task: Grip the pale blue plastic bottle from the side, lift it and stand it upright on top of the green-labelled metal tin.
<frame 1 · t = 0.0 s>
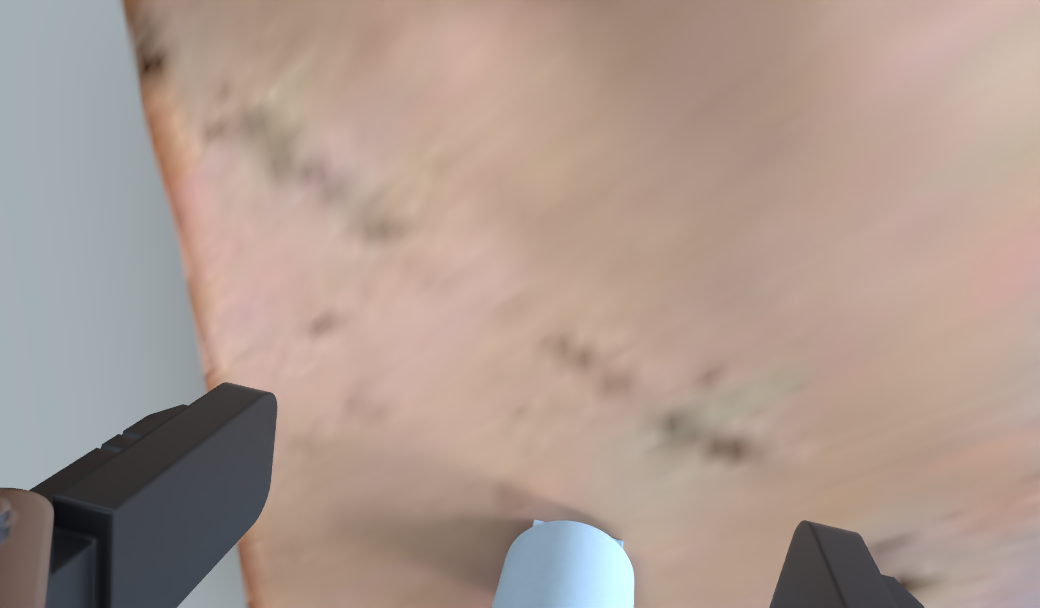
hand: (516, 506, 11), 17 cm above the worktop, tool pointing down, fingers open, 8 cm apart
bottle: (569, 565, 32), on the worktop
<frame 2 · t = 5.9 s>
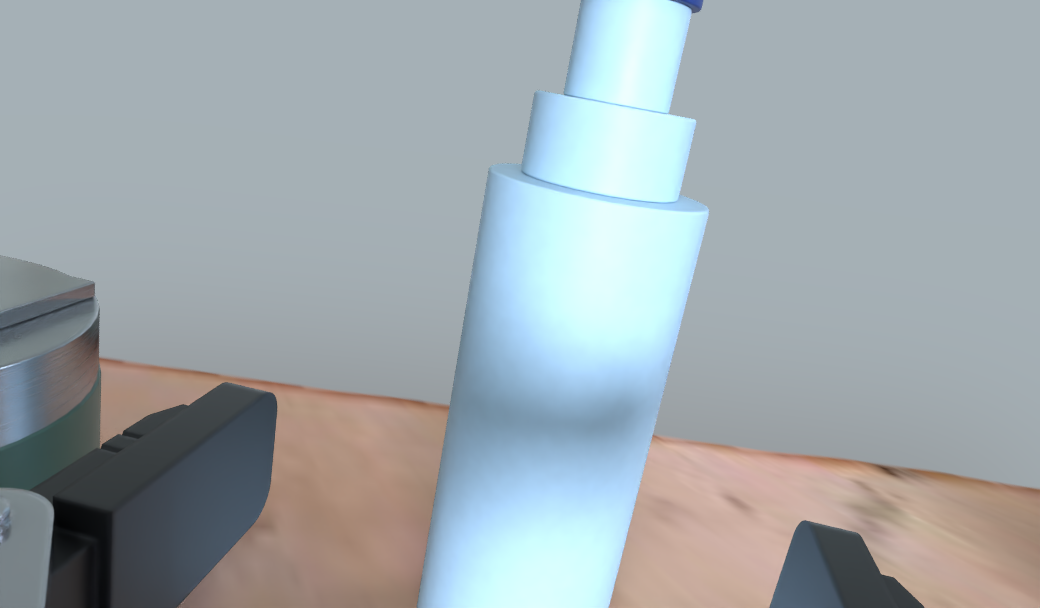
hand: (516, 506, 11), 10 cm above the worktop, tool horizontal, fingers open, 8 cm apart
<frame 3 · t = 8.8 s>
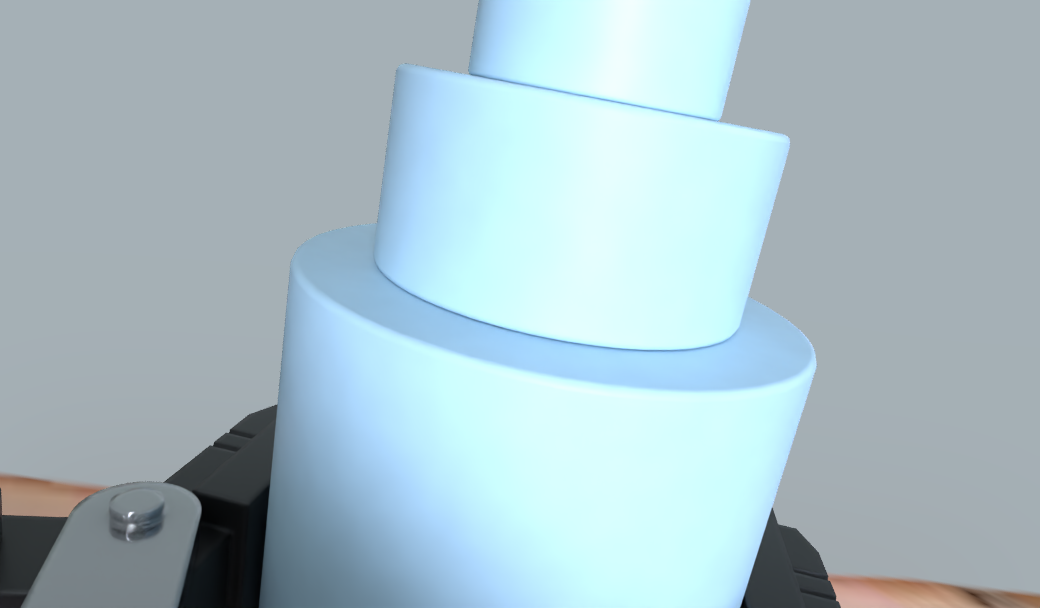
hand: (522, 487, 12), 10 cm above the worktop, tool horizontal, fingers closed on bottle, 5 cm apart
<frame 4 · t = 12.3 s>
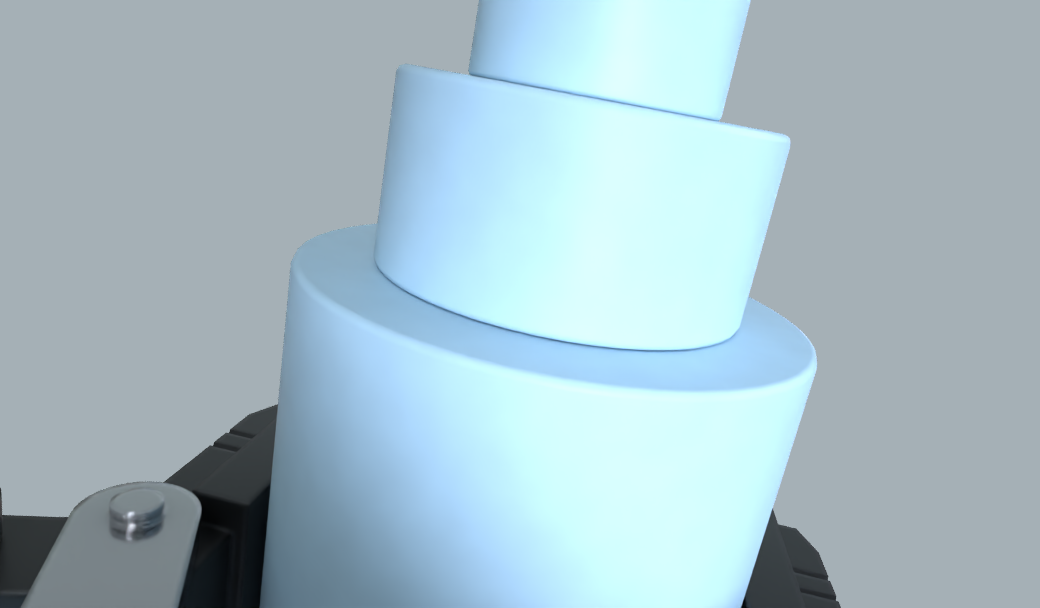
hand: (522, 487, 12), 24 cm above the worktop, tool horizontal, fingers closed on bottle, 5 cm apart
when the fingers open (20 cm above the worktop, at t = 16.0 s): bottle stays where it is, resting on tin.
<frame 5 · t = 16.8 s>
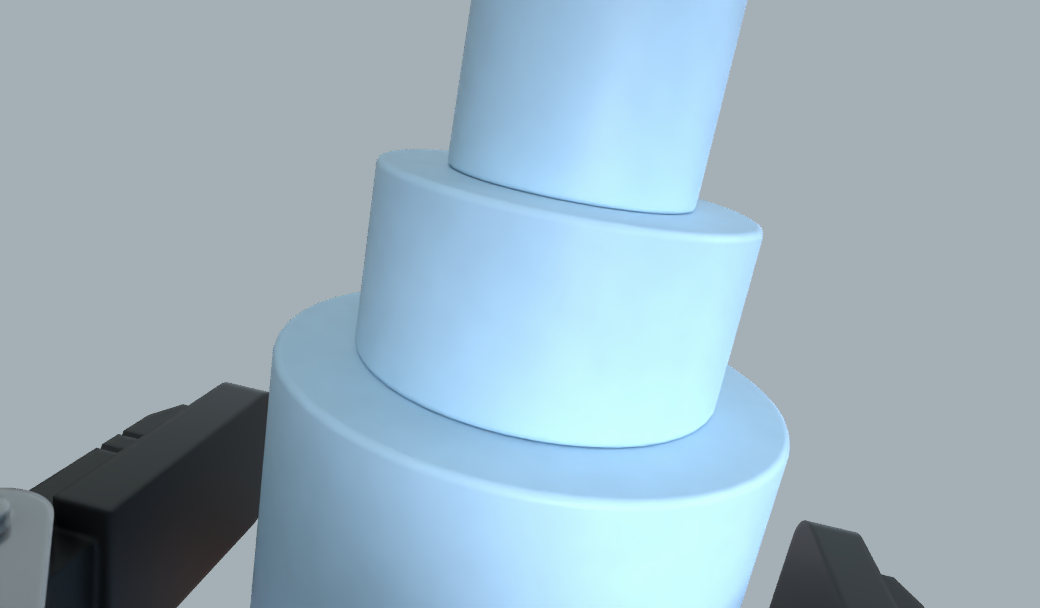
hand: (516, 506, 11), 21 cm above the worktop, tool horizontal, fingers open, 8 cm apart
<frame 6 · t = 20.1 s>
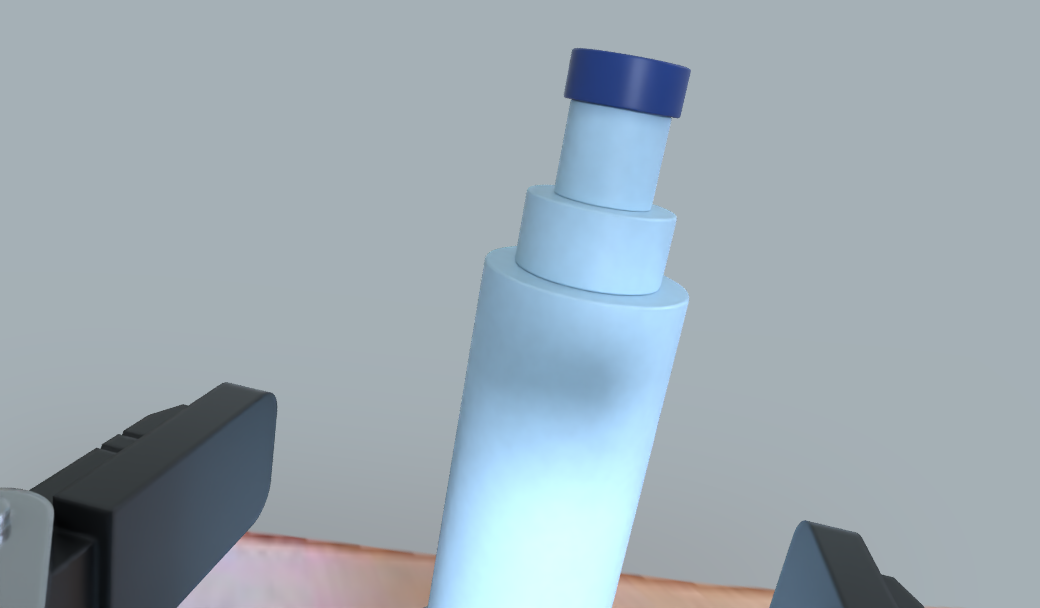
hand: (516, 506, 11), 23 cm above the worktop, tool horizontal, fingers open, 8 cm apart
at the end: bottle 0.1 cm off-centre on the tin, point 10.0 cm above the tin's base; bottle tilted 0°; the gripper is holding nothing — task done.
